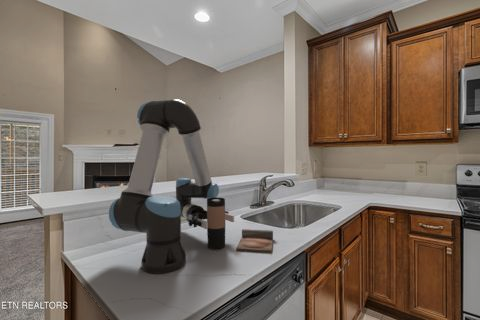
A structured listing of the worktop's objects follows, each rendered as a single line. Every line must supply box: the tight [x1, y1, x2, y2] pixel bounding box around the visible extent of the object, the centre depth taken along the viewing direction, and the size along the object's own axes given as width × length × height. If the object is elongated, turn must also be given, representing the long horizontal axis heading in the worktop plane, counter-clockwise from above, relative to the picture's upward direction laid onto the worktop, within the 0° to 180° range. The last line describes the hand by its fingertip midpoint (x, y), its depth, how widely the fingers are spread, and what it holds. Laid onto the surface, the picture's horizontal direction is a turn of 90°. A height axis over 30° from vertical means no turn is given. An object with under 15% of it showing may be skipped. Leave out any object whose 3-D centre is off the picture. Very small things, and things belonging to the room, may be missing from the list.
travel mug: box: [206, 197, 226, 251], centre depth 99 cm, size 8×8×20 cm
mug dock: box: [235, 228, 274, 254], centre depth 101 cm, size 15×14×4 cm
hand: (220, 222), depth 97 cm, fingers open, 13 cm apart
